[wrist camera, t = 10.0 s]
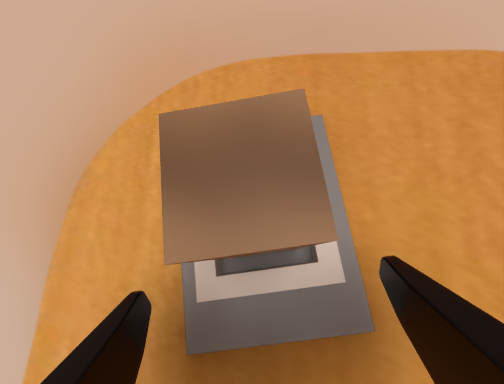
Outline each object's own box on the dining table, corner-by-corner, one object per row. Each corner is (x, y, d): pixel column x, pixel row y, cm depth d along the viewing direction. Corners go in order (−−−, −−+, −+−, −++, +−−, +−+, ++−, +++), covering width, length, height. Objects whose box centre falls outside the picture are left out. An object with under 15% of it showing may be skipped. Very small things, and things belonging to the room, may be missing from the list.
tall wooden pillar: (296, 249, 19) (338, 240, 7) (235, 257, 19) (164, 264, 7) (285, 189, 20) (304, 88, 8) (228, 198, 21) (158, 114, 8)
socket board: (368, 326, 18) (391, 344, 15) (192, 348, 19) (173, 370, 16) (319, 121, 23) (327, 97, 20) (178, 145, 24) (162, 126, 20)
